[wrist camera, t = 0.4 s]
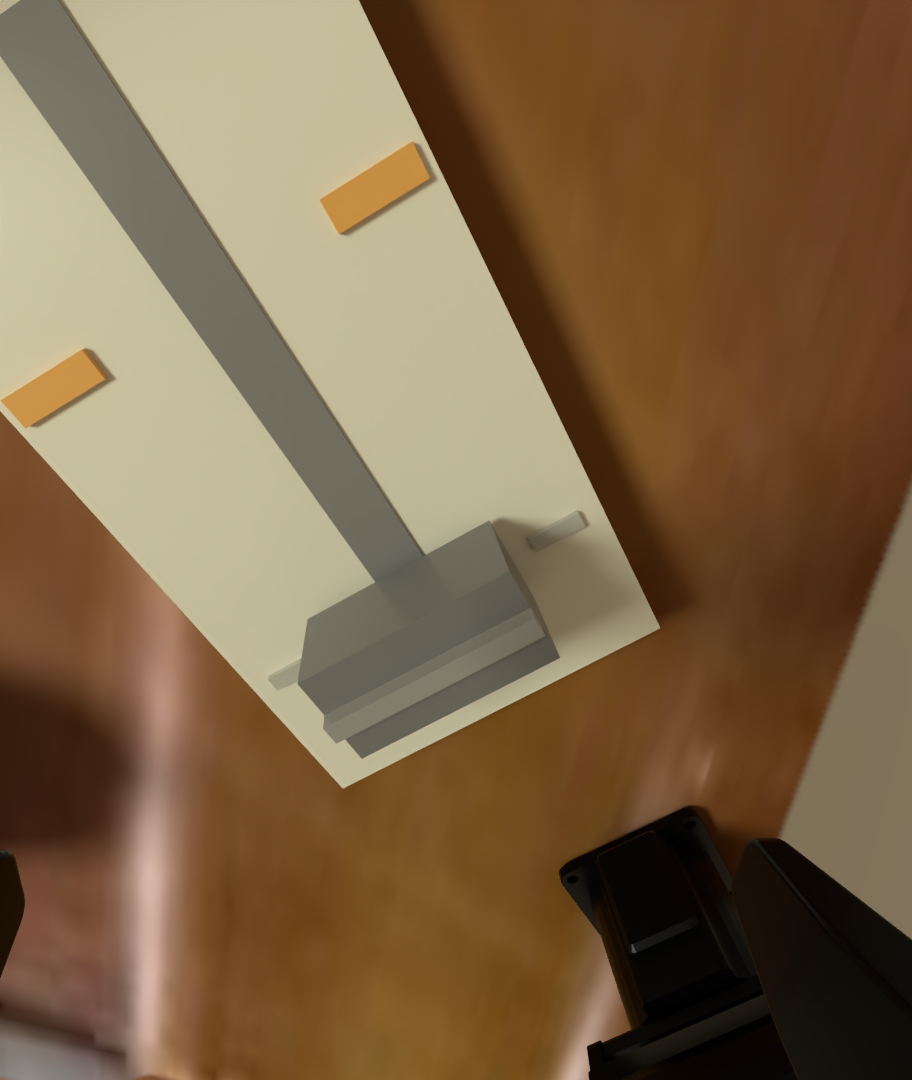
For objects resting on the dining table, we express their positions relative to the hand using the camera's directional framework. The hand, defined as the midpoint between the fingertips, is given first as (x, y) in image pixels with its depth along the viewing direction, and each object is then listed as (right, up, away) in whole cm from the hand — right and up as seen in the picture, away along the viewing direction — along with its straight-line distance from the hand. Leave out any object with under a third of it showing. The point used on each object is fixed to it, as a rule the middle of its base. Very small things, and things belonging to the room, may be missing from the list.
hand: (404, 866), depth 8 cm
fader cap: (0, +2, +11) cm, 11 cm away
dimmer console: (-3, +8, +11) cm, 14 cm away
